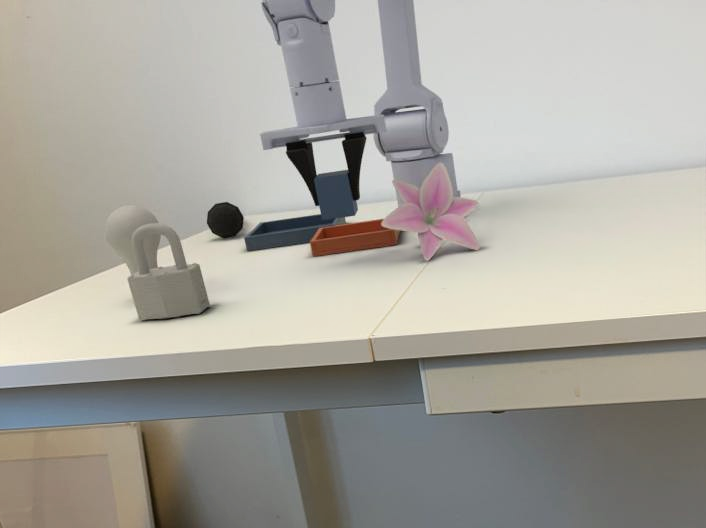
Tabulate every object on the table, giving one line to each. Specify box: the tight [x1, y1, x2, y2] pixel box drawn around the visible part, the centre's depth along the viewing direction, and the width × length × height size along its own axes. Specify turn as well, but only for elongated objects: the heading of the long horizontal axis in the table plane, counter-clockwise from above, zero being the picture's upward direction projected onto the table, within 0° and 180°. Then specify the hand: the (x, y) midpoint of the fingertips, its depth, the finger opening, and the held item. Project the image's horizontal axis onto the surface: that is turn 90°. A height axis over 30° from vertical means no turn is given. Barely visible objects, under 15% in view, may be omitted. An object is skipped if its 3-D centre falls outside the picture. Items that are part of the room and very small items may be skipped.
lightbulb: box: [104, 204, 162, 275], centre depth 96 cm, size 6×6×11 cm
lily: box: [381, 163, 481, 262], centre depth 98 cm, size 12×12×10 cm
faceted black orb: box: [206, 201, 245, 239], centre depth 134 cm, size 6×6×20 cm
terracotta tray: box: [309, 218, 401, 257], centre depth 110 cm, size 11×9×2 cm
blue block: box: [314, 169, 359, 220], centre depth 97 cm, size 4×4×5 cm
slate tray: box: [243, 213, 347, 252], centre depth 120 cm, size 13×11×2 cm
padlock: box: [127, 222, 211, 321], centre depth 86 cm, size 7×4×10 cm, turn 87°
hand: (337, 201), depth 98 cm, fingers closed on blue block, 4 cm apart
